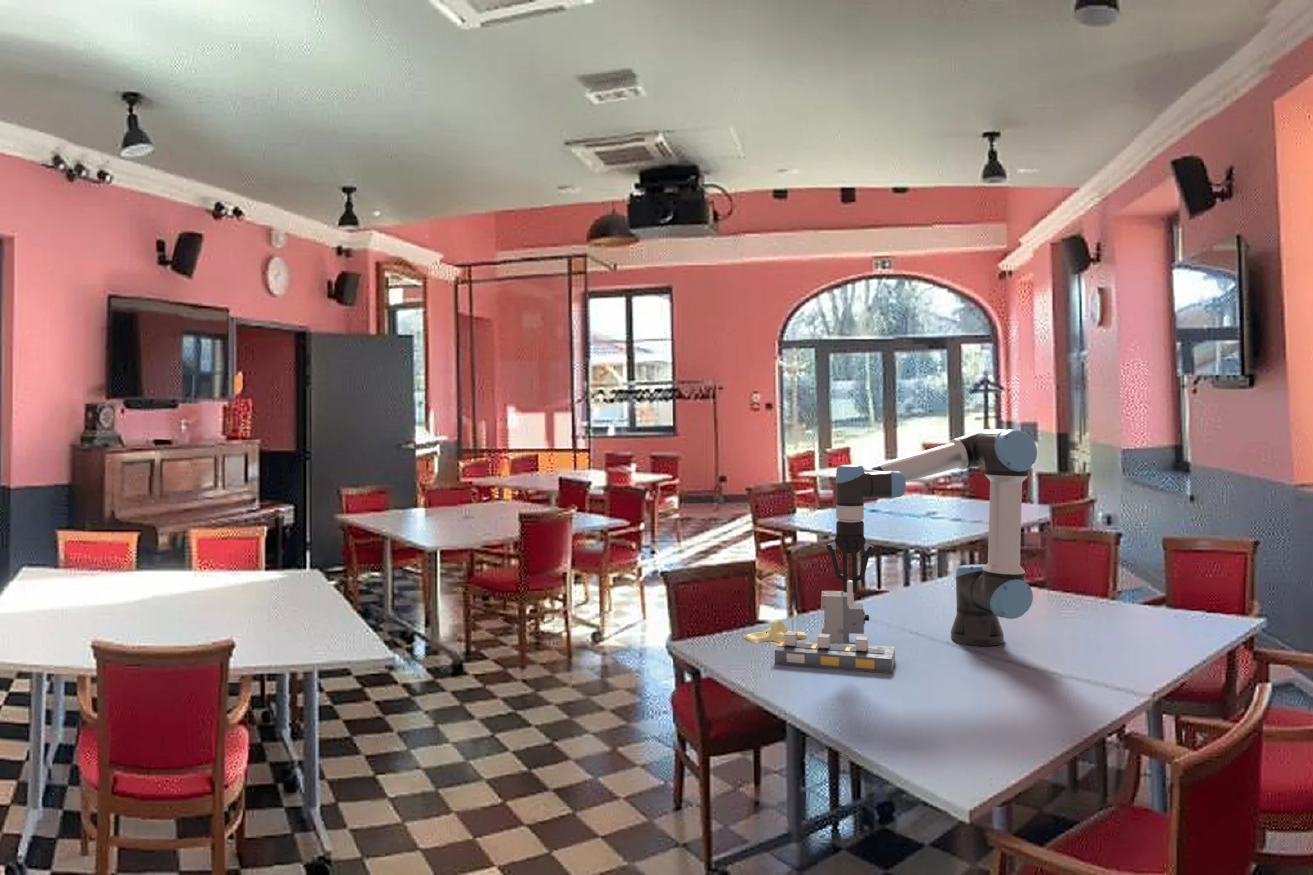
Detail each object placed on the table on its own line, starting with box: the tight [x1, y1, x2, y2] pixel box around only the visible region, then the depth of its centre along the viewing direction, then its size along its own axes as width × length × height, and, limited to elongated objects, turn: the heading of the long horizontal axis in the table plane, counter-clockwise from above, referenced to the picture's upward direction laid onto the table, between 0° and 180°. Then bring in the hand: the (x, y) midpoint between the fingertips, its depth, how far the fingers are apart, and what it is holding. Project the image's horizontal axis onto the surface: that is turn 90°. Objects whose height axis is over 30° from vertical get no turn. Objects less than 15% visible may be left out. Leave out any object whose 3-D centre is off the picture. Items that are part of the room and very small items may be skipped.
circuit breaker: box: [820, 590, 870, 644], centre depth 259 cm, size 8×14×15 cm, turn 78°
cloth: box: [742, 619, 808, 646], centre depth 265 cm, size 22×19×6 cm
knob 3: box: [855, 635, 869, 651], centre depth 236 cm, size 3×4×3 cm
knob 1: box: [784, 630, 798, 646], centre depth 243 cm, size 3×4×3 cm
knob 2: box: [817, 633, 830, 648], centre depth 239 cm, size 3×4×3 cm
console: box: [774, 639, 896, 675], centre depth 238 cm, size 32×12×4 cm, turn 70°
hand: (850, 604), depth 236 cm, fingers closed
